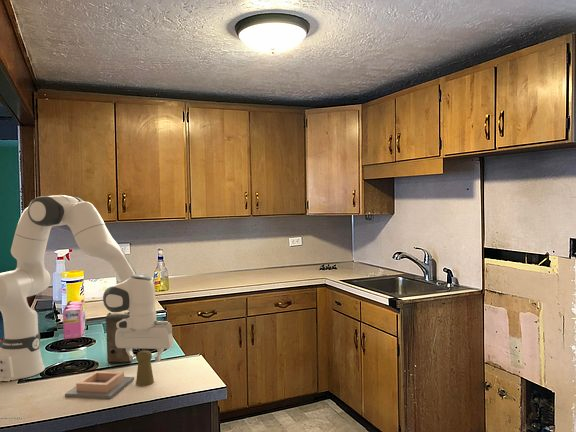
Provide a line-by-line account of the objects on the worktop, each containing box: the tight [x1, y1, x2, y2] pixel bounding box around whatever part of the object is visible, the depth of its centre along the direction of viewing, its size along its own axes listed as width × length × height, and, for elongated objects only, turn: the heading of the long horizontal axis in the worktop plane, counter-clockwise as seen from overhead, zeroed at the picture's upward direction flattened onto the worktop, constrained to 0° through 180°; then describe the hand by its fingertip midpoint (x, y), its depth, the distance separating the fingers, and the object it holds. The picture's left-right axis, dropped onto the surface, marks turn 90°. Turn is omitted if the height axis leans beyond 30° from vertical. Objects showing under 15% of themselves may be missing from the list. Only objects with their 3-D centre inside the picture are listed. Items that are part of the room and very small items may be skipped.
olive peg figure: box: [135, 350, 155, 387], centre depth 163 cm, size 6×6×11 cm
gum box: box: [62, 299, 86, 340], centre depth 230 cm, size 24×8×14 cm, turn 19°
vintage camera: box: [105, 311, 137, 364], centre depth 190 cm, size 10×15×20 cm, turn 2°
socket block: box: [64, 370, 136, 400], centre depth 159 cm, size 16×16×4 cm
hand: (145, 360), depth 163 cm, fingers open, 8 cm apart
